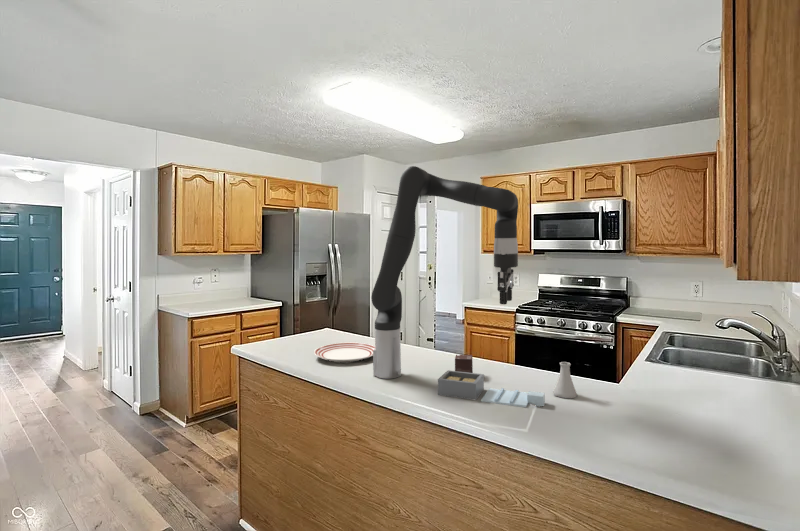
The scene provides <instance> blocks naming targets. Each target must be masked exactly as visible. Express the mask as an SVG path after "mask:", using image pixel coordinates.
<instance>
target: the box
mask: <svg viewBox="0 0 800 531" xmlns="http://www.w3.org/2000/svg"><path fill="white" fill-rule="evenodd" d="M473 369H474V368H473V354H455V357H454V371H459V372H468V373H474V372H473Z"/></svg>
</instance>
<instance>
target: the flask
mask: <svg viewBox="0 0 800 531" xmlns="http://www.w3.org/2000/svg"><path fill="white" fill-rule="evenodd" d="M571 365H572V364H571V363H570V362H567V361H561V362H559V366H560V371H559V376H558V378H557V381H556V384H555V386H554V388H553V391H552V394H553V396H554V397H558V398H562V399H575V398H576V397H578V393H577V391H576V389H575V386H574V382H573V379H572V376H571V368H570V367H571Z"/></svg>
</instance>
